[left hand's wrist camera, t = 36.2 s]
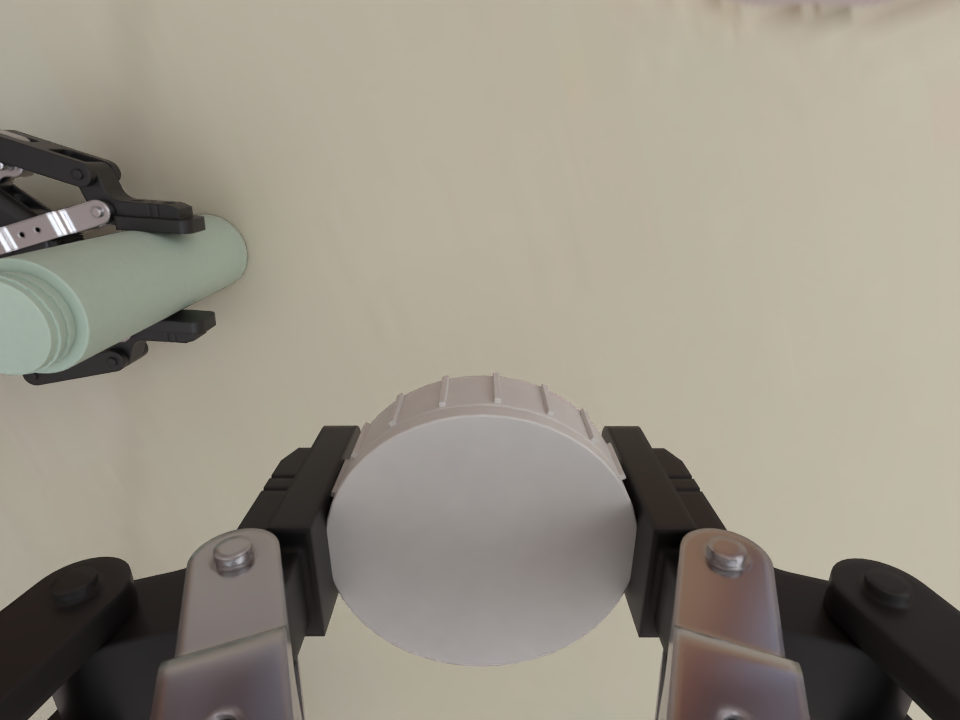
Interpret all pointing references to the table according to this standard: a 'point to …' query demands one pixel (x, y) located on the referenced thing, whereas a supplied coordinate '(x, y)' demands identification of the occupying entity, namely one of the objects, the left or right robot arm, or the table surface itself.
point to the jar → (106, 291)
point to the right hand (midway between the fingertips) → (202, 274)
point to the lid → (481, 523)
